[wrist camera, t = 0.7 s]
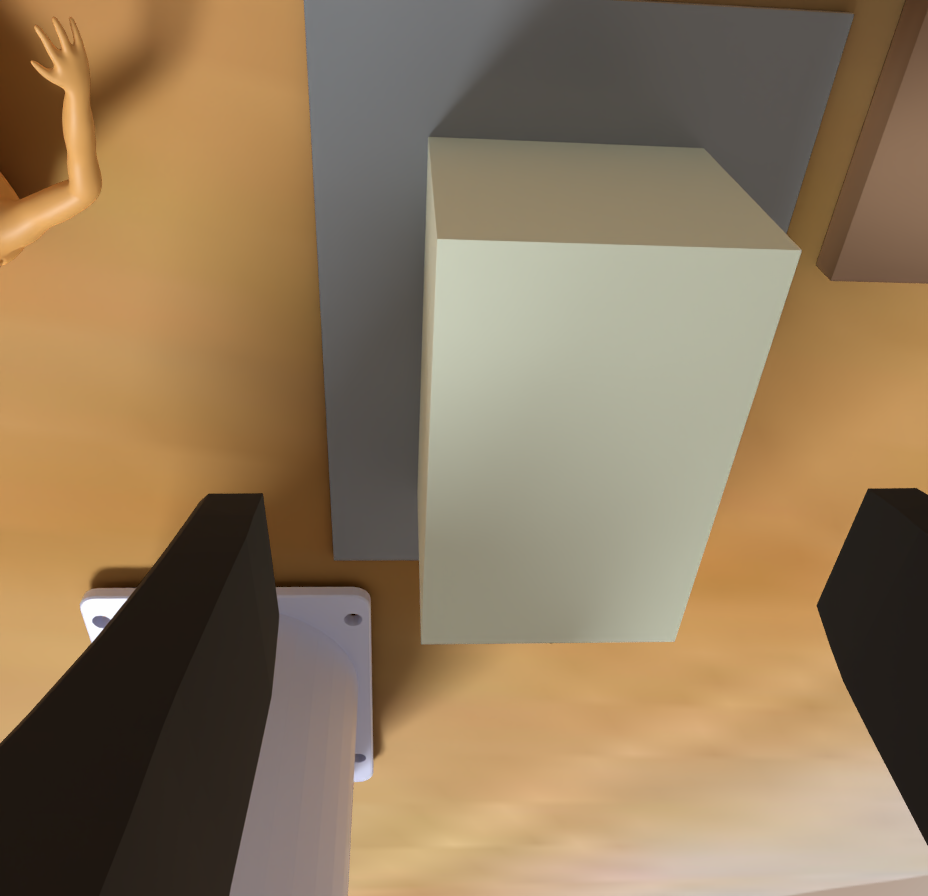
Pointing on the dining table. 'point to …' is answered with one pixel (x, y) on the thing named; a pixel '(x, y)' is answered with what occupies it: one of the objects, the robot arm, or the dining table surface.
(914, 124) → the walnut pad
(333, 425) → the grey tile
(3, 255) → the figurine
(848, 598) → the robot arm
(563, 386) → the sage block
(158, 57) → the dining table surface
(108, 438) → the dining table surface
